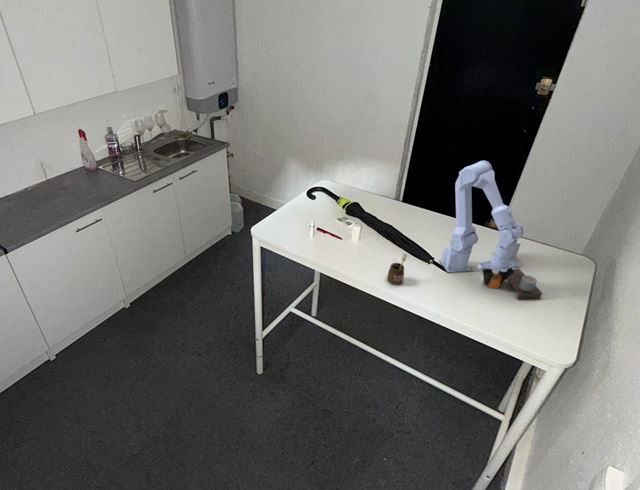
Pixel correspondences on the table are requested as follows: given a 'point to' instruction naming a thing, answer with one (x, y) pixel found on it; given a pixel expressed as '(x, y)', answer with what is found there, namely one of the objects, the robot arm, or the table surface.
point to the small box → (514, 250)
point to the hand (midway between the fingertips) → (492, 283)
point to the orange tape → (495, 281)
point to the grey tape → (527, 283)
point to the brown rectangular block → (515, 282)
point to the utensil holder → (396, 272)
